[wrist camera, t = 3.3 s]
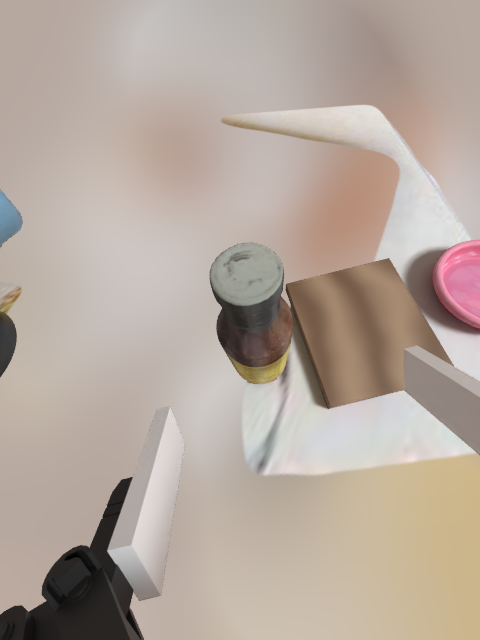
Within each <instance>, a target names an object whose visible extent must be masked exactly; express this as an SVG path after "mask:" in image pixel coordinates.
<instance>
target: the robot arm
mask: <svg viewBox="0 0 480 640" xmlns="http://www.w3.org/2000/svg"><path fill="white" fill-rule="evenodd" d="M22 222H23V221H22V216H21V214H20V213H19V211H18V210H17V209H16V207H15V206H14V205H13V204H12V202H11V201H10V200H9V199H8V198H7V197H6V196H5V194H4V193H3V192H2V191H1V190H0V247H1V246H2V243H4V242H5V241H7V240H8V239H9V238H10V237H12V236H13V235H14V234H16V233H17V232H18V231H19V230H20V229H21V227H22ZM16 337H17V335H16V328H15V325H14V323H13V321H12V320H11V318H10V317H9V316H8V315H6V314H5V313H3V312H1V311H0V377H1V376H2V374H3V373H4V371H5V370H6V368H7V366H8V365H9V363H10V361H11V359H12V356H13V353H14V350H15V346H16ZM404 391H406V392H407V393H408V394H409V395H410V396H411V397H413V398H414V399H415V400H416V401H417V402H418V403H420V404H421V405H422V406H423V407H424V408H425V409H427V410H428V411H429V412H430V413H431V414H432V415H433V416H435V417H436V418H437V419H438V420H439V421H440V422H442V423H443V424H444V425H445V426H446V427H447V428H449V429H450V430H451V431H452V432H453V433H454V434H456V435H457V436H458V437H459V438H460V439H461V440H463V441H464V442H465V443H466V444H467V445H468V446H470V447H471V448H472V449H473V450H474V451H475V452H477V453H478V454H479V455H480V381H478V380H476V379H475V378H473V377H471V376H469V375H468V374H466V373H464V372H463V371H461V370H459V369H457V368H456V367H454V366H452V365H450V364H449V363H447V362H445V361H443V360H442V359H440V358H438V357H436V356H435V355H433V354H431V353H429V352H428V351H426V350H424V349H423V348H421V347H419V346H413V347H409V348H405V349H404ZM184 448H185V443H184V440H183V438H182V435H181V433H180V430H179V428H178V425H177V423H176V420H175V418H174V415H173V412H172V410H171V407H170V406H169V407H165V408H161V409H157V410H156V413H155V415H154V418H153V421H152V424H151V427H150V430H149V433H148V435H147V438H146V441H145V444H144V447H143V450H142V453H141V456H140V458H139V461H138V464H137V467H136V470H135V473H134V475H133V477H131V478H127V479H123V480H121V481H120V483H119V484H118V485H117V487H116V488H115V489H114V491H113V492H112V495H111V497H110V500H109V502H108V504H107V508H106V509H105V511H104V514H103V519H101V521H100V524H99V526H98V529H97V531H96V534H95V536H94V538H93V541H92V543H91V546H90V548H89V547H87V546H82V545H80V546H77V547H75V548H72V549H71V550H69V551H68V552H66V553H65V554H63V555H62V556H61V557H60V559H59V560H58V561H57V562H56V563H55V564H54V565H53V567H52V568H51V569H50V571H49V573H48V574H47V576H46V578H45V580H44V583H43V586H42V596H43V597H44V598H45V599H46V600H47V601H46V602H44V603H43V604H41V605H39V606H38V607H36V608H34V609H33V610H31V611H29V612H28V611H27V610H26V609H25V608H24V607H23V606H14V607H12V608H10V609H8V610H6V611H4V612H3V613H2V614H1V615H0V640H144V638H143V636H142V634H141V631H140V629H139V627H138V624H137V622H136V619H135V617H134V615H133V612H132V610H131V609H130V603H131V599H132V595H133V592H134V594H135V595H136V597H137V598H138V600H139V601H141V600H145V599H149V598H154V597H158V596H161V593H162V587H163V580H164V574H165V567H166V561H167V555H168V548H169V542H170V536H171V530H172V523H173V517H174V511H175V505H176V499H177V492H178V486H179V479H180V473H181V467H182V461H183V455H184Z"/></svg>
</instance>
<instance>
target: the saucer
mask: <svg viewBox="0 0 480 640" xmlns="http://www.w3.org/2000/svg"><path fill="white" fill-rule="evenodd" d="M433 285H434V288H435V291H436V294H437V296H438V298H439V300H440V301H441V303H442V304H443V305H444V306H445V308H446V309H447V310H448V311H449V312H450V313H452V314H453V315H454V316H455V317H457V318H458V319H460V320H461V321H463V322H465V323H467V324H469V325H471V326H473V327H476V328H479V329H480V240H472V241H466V242H462V243H459V244H457V245H455V246H453V247H451V248H449V249H448V250H447V251H445V252H444V253H443V254H442V256H441V257H440V258H439V259H438V261H437V262H436V264H435V267H434V270H433Z"/></svg>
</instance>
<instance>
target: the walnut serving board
mask: <svg viewBox="0 0 480 640" xmlns="http://www.w3.org/2000/svg"><path fill="white" fill-rule="evenodd" d="M286 292H287V295H288V298H289V301H290V303H291V306H292V309H293V312H294V315H295V317H296V320H297V323H298V326H299V329H300V331H301V334H302V337H303V340H304V343H305V345H306V348H307V351H308V354H309V357H310V359H311V362H312V365H313V368H314V370H315V373H316V376H317V379H318V382H319V384H320V387H321V390H322V393H323V396H324V398H325V401H326V404H327V407H328V409H330V408H334V407H338V406H342V405H346V404H350V403H354V402H358V401H362V400H366V399H370V398H374V397H378V396H382V395H386V394H390V393H394V392H398V391H402V390H404V349H405V348H409V347H413V346H419V347H421V348H423V349H424V350H426V351H428V352H429V353H431V354H433V355H435V356H436V357H438V358H440V359H442V360H443V361H445V362H447V363H449V364H450V365H452V366H454V365H453V364H452V362H451V360H450V359H449V357H448V355H447V354H446V352H445V350H444V349H443V347H442V345H441V344H440V342H439V340H438V339H437V337H436V335H435V334H434V332H433V330H432V329H431V327H430V326H429V324H428V322H427V321H426V319H425V317H424V316H423V314H422V312H421V311H420V309H419V307H418V306H417V304H416V302H415V301H414V299H413V297H412V296H411V294H410V292H409V291H408V289H407V287H406V286H405V284H404V282H403V281H402V279H401V277H400V276H399V274H398V273H397V271H396V269H395V268H394V266H393V264H392V263H391V261H390V259H389V258H388V259H384V260H380V261H376V262H372V263H368V264H364V265H360V266H356V267H352V268H348V269H344V270H340V271H336V272H332V273H328V274H325V275H320V276H316V277H312V278H308V279H304V280H300V281H297V282H292V283H288V284H286Z"/></svg>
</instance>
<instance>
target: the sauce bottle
mask: <svg viewBox="0 0 480 640" xmlns="http://www.w3.org/2000/svg"><path fill="white" fill-rule="evenodd" d="M283 279H284V269H283V265H282V262H281V260H280V258H279V257H278V256H277V255H276V254H275V253H274V252H273V251H272V250H271V249H269V248H268V247H266V246H264V245H261V244H257V243H241V244H237V245H234V246H232V247H230V248H228V249H227V250H225V251H224V252H222V253H221V254H220V255H219V256H218V257H217V258H216V259H215V262H214V263H213V264H212V266H211V270H210V284H211V288H212V291H213V294H214V296H215V298H216V300H217V302H218V303H219V304H220V305H221V306H222V310H221V312H220V314H219V316H218V320H217V335H218V339H219V341H220V343H221V345H222V347H223V349H224V350H225V352H226V354H227V356H228V357H229V359H230V360H231V362H232V364H233V365H234V367H235V369H236V370H237V372H238V373H239V374H240V376H241V377H243V378H244V379H245V380H247V381H249V382H252V383H254V384H265V383H268V382H271V381H274V380H275V379H277V377H278V376H279V375H280V374H281V373H282V371H283V370H284V368H285V365H286V361H287V357H288V352H289V348H290V344H291V338H292V330H293V318H292V314H291V310H290V308H289V306H288V304H287V303H286V302H285V300H284V299H283V298H282V297H281V293H282V291H283V281H284V280H283Z"/></svg>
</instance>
